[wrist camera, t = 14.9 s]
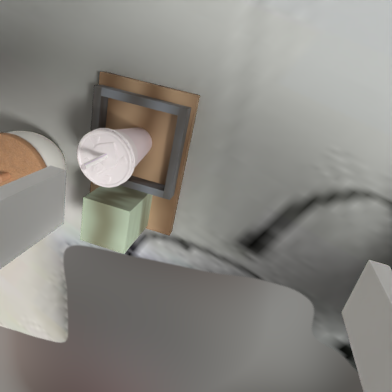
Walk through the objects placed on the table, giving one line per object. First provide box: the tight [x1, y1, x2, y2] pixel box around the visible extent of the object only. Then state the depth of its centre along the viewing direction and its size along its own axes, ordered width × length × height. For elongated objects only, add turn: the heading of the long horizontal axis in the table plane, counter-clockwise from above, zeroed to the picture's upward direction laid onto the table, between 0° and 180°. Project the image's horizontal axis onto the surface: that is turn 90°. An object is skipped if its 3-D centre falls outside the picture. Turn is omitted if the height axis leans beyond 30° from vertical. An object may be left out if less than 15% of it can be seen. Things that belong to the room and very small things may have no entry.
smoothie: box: [77, 128, 152, 188], centre depth 36 cm, size 6×6×14 cm
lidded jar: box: [0, 131, 66, 186], centre depth 44 cm, size 11×11×9 cm
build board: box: [80, 72, 200, 254], centre depth 40 cm, size 13×20×9 cm, turn 168°
